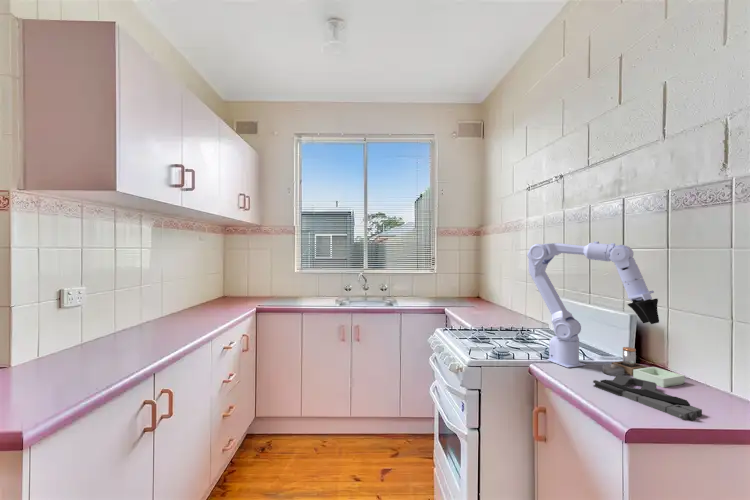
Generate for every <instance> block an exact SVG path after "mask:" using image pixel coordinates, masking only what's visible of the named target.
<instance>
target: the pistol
mask: <svg viewBox="0 0 750 500" xmlns="http://www.w3.org/2000/svg"><path fill="white" fill-rule="evenodd" d="M592 383H594V385H592V386H593V387H594V388H597V389H599V390H602V391H604V392H608V393H610V394H611V395H612V394H613V395H615V396H618V397H623V398H626V399H628V400H631V401H633V402H637V403H638V404H641V405H644V406H646V407H650V408H652V409H654V410H656V411H659V412H662V413H664V414H665V413H666V414H668V415H670V416H671V417H672V416H673V417H676V418H678V419H680V420H683V421H686V420H691V421H692V422H693V421H696V418H698V417H702V416H703V409H702V408H699V407H696V406H693V405H691V403H690V402H689V401H688V400H687V399H684V398H681V397H679V396H673V395H670V394H666V393H663V392H661V391H658V390H657V385H656V383H654V382H649V381H645V380H640V379H636V378H633V377H631V376H627V375H624V376H622V375H617V376H614V378H613V379H601V380H600V381H599V380H596V379H594V380H593V381H592ZM631 385H633V386H637V387H640V388H637V387H635V388H634V387H630V386H631Z"/></svg>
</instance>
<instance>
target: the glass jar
mask: <svg viewBox="0 0 750 500" xmlns="http://www.w3.org/2000/svg"><path fill="white" fill-rule="evenodd" d="M636 349H637V348H634V347H630V346H623V347H622V361H623V365H624V366H627V367H636V359H637V355H636V354H637V353H636V351H637V350H636Z"/></svg>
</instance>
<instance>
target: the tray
mask: <svg viewBox="0 0 750 500" xmlns="http://www.w3.org/2000/svg"><path fill="white" fill-rule="evenodd" d="M632 376H633V377H632V378H636V379H640V380H645V381H649V382H654V383H656V387H657V386H658V387H659V388H668V387H673V386H674V387H675V386H679V385H684V384H685V374H680V373H677V372H673V371H669V370H668V369H667V370H666V369H663V368H661V367H656V366H649V367H648V366H647V368H641V369H634V370H633V375H632Z"/></svg>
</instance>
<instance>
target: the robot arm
mask: <svg viewBox="0 0 750 500" xmlns="http://www.w3.org/2000/svg"><path fill="white" fill-rule="evenodd" d="M561 254H567V255H570V254H571V255H581V256H585V257H586V259H588V260H592V261H601V262H612V263H614V265H615V268H616V271H617V273H618V276H619V278H620V280H621V283H622V285H623V288H624V289H625V292H626V294H627V299H628V300H630V301H631V302H629V303H627V306H628V307H629V308H630V309H631V310H633V312H635V314H636V315H637V317H638V318H639V321H641V323H642V324H647V323H650V325H654V324H655V325H656V324H659V323H660V318H659V313H658V302H659V298H652V294H654V293H655V291H654V290H649V289H648V287H647V286H648V285H647V284H646V281H645V279H644V278H643V274H642V272H641V270H640V267H639V266H638V264H637V263H636V260H635V257H634V251H633V249H632V248H631V247H630V246H628V245H626V244H625V245H624V244H619V245H616V243H614V242H611V243H600V242H599V241H593V242H589V243H588V244H587V245H579V244H578V245H577V244H570V243H562V242H554V243H550V242H549V243H535V244H533V245H531V246H530V247H529V249H528V252H527V254H526V256H527V259H528V273H529V276H530V277H531V279H532V280H533V282H534V284H535V287H536V289H537V290H538V292H539V294H540V296H541V298H542V299H543V301H544V303H545V306H546V307H547V309H548V311H549V313H550V314H551V324H552V325H553V333H554V334H555V336H552V337H550V341H549V345H548V346H549V349H548V350H549V352H548V353H549V358H547V361H549V362H552V363H554V364H557V365H560V366H562V367H564V368H569V369H570V368H575V367H582V366H583V367H584V366H586V364H585V363H583V362H580V337H579V334H580V333H581V332H582V324H581V323H580V322H579V321H578V320H577V319H575V317H574V316H573V314H572V313H571V312H570V311H569V310H567V308H566V307H565V305H564V303H563V301H562V299H561V298H560V296H559V293H558V292H557V290H556V289H555V286H554V285H553V283H552V281H551V279H550V277H549V276H548V274H547V272H546V270H547V268H548V265H549V264H550V262H551V261H552V260H553V259H554V257H555V256H559V255H561Z"/></svg>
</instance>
